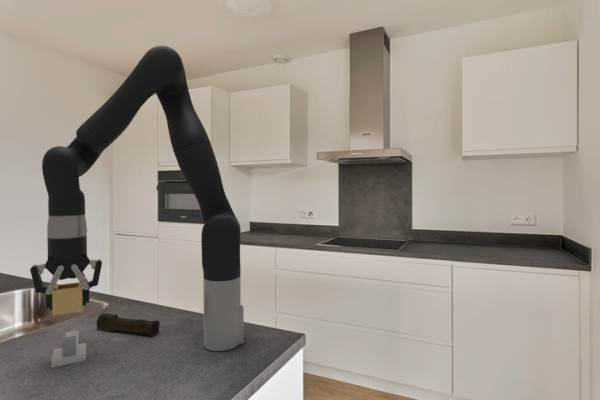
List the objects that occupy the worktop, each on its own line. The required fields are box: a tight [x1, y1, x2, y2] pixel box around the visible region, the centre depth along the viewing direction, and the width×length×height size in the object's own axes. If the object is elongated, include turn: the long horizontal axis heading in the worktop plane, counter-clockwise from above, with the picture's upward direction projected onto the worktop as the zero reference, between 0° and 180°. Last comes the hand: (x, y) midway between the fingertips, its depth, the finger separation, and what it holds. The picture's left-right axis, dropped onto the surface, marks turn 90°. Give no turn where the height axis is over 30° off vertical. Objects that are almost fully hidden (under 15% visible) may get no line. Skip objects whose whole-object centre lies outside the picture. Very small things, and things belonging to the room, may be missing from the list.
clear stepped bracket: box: [50, 329, 87, 369], centre depth 84 cm, size 6×17×5 cm, turn 31°
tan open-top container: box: [51, 281, 84, 317], centre depth 79 cm, size 6×6×6 cm
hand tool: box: [96, 313, 161, 338], centre depth 95 cm, size 19×4×5 cm, turn 75°
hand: (68, 306), depth 79 cm, fingers closed on tan open-top container, 5 cm apart
